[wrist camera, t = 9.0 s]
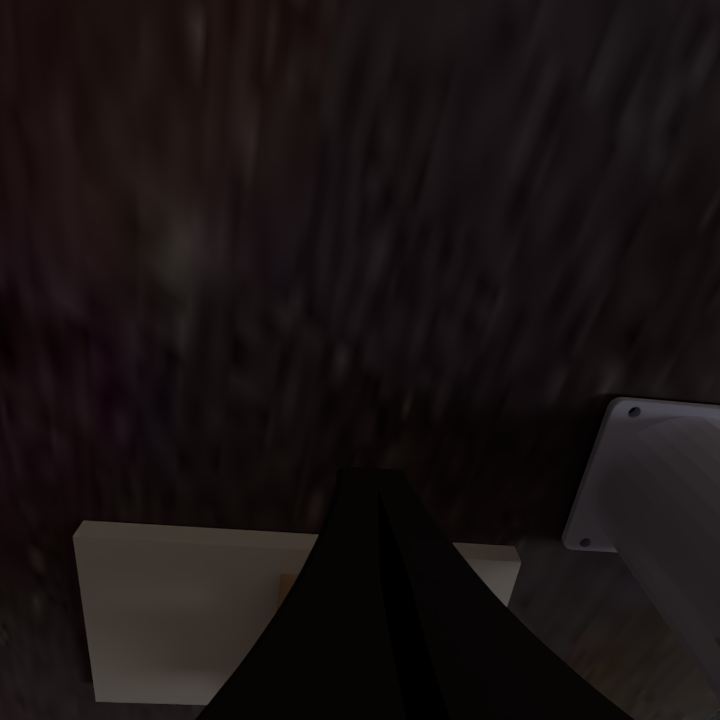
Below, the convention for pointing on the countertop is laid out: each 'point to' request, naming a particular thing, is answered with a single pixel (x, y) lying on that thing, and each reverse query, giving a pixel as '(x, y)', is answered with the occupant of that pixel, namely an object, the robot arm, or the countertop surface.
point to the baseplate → (197, 602)
